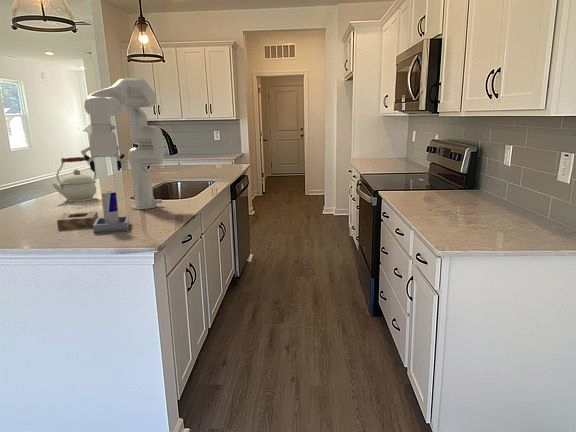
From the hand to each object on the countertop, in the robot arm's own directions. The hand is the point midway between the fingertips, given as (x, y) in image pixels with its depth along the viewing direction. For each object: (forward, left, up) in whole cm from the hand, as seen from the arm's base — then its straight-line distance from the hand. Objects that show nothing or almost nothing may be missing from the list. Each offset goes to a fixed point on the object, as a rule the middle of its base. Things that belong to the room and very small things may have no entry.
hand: (106, 170), depth 167 cm
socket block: (+15, -13, -25) cm, 32 cm away
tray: (0, 0, -25) cm, 25 cm away
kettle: (+26, -77, -25) cm, 85 cm away
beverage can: (0, 0, -24) cm, 24 cm away
